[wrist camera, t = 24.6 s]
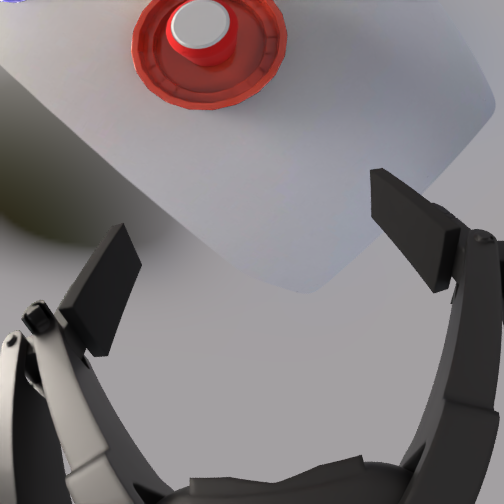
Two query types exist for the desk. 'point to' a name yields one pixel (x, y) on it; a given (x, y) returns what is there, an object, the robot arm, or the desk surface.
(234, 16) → the beverage can
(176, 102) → the red bowl
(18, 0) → the dog bowl
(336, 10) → the desk surface
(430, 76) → the desk surface
